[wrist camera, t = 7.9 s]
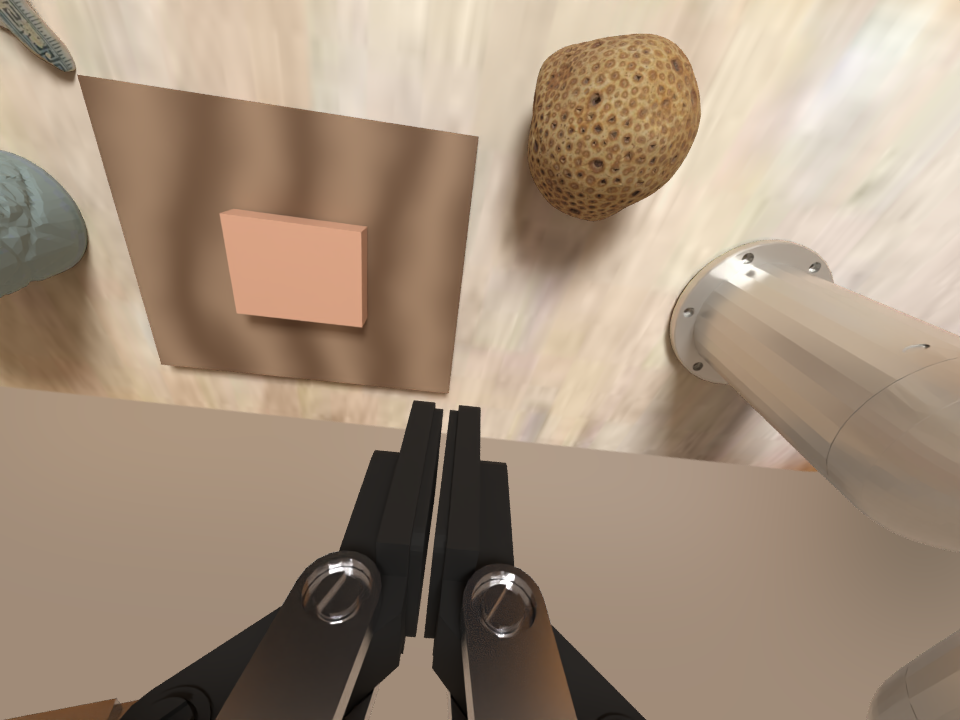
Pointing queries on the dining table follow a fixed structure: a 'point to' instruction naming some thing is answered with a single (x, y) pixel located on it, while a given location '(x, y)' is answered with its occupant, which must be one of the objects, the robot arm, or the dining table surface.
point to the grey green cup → (35, 225)
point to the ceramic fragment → (35, 34)
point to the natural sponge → (611, 123)
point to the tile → (296, 267)
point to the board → (290, 192)
